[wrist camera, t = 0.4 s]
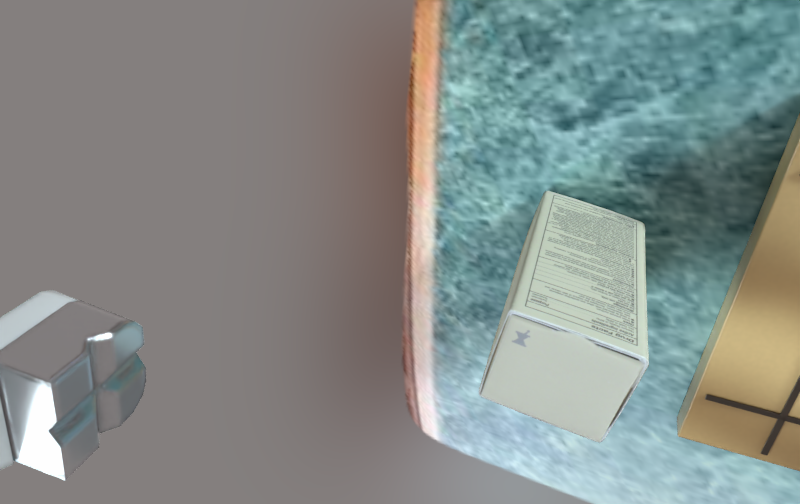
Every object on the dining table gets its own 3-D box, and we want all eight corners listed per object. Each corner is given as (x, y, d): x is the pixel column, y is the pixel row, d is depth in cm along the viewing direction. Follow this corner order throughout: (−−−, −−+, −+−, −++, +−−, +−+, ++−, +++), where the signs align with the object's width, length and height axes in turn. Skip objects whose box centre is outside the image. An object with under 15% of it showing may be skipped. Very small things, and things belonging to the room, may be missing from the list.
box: (517, 258, 35) (467, 394, 25) (545, 185, 32) (501, 305, 23) (617, 295, 34) (602, 450, 24) (653, 223, 31) (652, 363, 22)
